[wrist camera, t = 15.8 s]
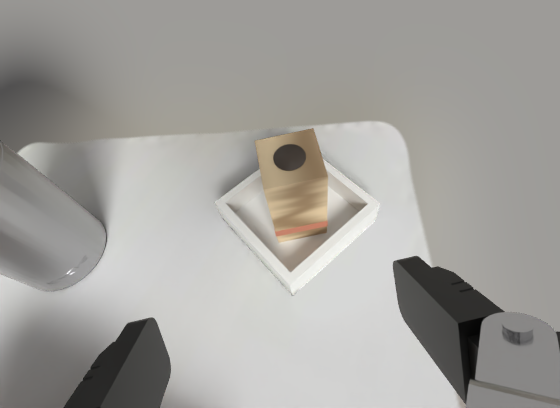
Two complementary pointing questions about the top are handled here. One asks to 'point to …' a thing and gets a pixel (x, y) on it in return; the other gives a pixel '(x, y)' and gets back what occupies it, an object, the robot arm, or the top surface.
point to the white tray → (304, 251)
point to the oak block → (294, 184)
